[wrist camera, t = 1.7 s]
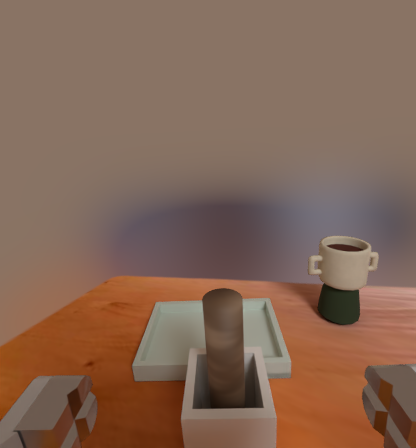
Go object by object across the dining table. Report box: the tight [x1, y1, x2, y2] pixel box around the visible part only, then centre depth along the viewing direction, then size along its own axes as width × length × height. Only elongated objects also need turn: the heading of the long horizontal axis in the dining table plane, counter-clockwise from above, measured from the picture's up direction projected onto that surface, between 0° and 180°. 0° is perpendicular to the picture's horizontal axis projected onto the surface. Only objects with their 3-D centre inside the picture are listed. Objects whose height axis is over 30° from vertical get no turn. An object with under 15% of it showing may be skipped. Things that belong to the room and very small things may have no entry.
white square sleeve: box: [181, 347, 277, 448], centre depth 24 cm, size 7×7×9 cm
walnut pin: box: [202, 288, 246, 409], centre depth 23 cm, size 3×3×16 cm
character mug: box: [308, 236, 379, 325], centre depth 42 cm, size 11×7×13 cm, turn 91°
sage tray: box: [132, 298, 291, 381], centre depth 40 cm, size 20×14×2 cm
